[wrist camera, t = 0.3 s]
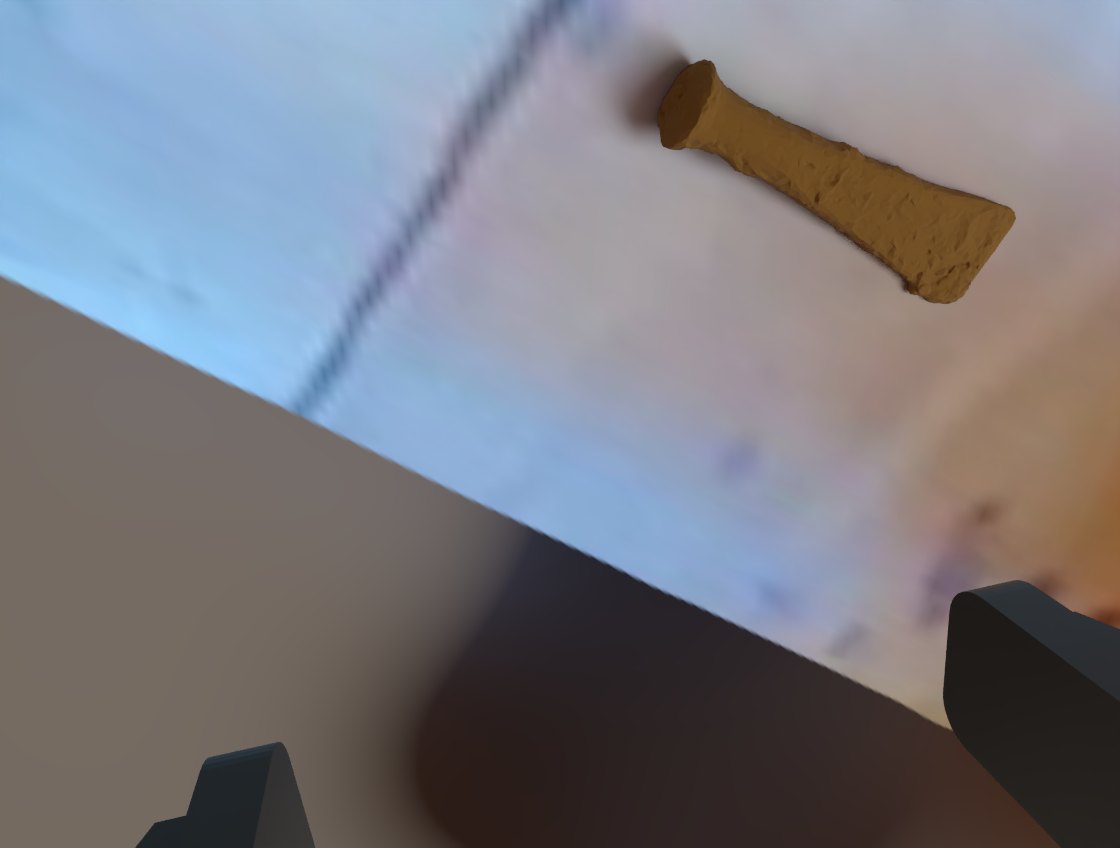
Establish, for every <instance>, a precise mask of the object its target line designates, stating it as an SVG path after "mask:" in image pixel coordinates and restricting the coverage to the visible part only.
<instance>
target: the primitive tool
mask: <svg viewBox="0 0 1120 848" xmlns="http://www.w3.org/2000/svg"><path fill="white" fill-rule="evenodd" d="M658 126H659V128H660V137H661V143H662V146H663V147H666V148H669V149H673V150H681V149H684V148H690V149H702V150H705V151H707V152H709V153H711V154H717V155H719V156H720V157H722V158H723V159H724V160H725V161H727V162H728V163H729V164H730V165H731V166H732V168H733V169H734V170H736V171H739V172H743V174H745V175H748V176H751V177H755V178H759V179H761V180H763V181H765V182H766V183H768V184H770V185H772V186H773V187H775V188H776V190H778V191H780V192H783V193H784V194H786V195H788V196H790V197H791V198H792V199H794V200H795V201H796V202H798V203H799V204H800V205H802V206H803V207H805V208H806V209H808V210H810V211H812V212H813V213H815V214H817V215H818V216H819V217H821V218H822V219H824V220H825V221H827V222H828V223H829V224H830V225H832V226H834V227H835V229H836V230H837V231H841V232H843V233H844V234H845V235H846V236H847V238H848V239H849V240H853V241H855V242H856V243H858V245H859V247H860V248H862V249H863V250H864V251H866V252H870V253H871V254H873V255H874V256H876V257H878V258H880V259H881V260H882V261H883V262H884V263H885V264H886V265H887V266H889V267H890V268H891V269H893V270H894V271H896V272H898V273H899V274H900V275H901V276H902V277H903V278H904V279H905V280H906V281H907V282H908V288H907V289H908V290H909V292H910V294H913V295H920V296H922V297H924V298H925V299H926V300H927V301H928V302H931V303H942V304H948V303H952V302H955V301H957V300H958V299H959V298H961V297H963V295H964V294H965V292H966V291H967V290H968V288H969V285H970V284H971V281H972V280H973V279H974V278H975V277H976V275H977V274H978V273H979V271H980V270H981V268H982V267H983V266H984V264H985V263H986V262H987V260H988V259H989V258H990V256H991V255H992V254H993V252H994V251H995V250H996V248H997V247H998V245H999V244H1000V242H1001V241H1002V240H1003V238H1004V237H1005V235H1006V234H1007V233H1008V231H1009V230H1010V228H1011V227H1012V225H1013V224H1014V221H1015V219H1016V217H1015V213H1014V211H1013V210H1012V209H1010V208H1009V207H1007V206H1002V205H1000V204H997V203H995V202H993V201H990V200H987V199H985V198H982V197H979V196H975V195H972V194H969V193H965V192H961V191H958V190H953V189H949V188H946V187H942V186H939V185H936V184H933V183H930V182H927V181H924V180H922V179H920V178H918V177H916V176H915V175H913V174H910V173H907V172H905V171H903V170H902V169H901V168H900V167H899V166H888V165H886V164H884V163H881V162H879V161H878V160H875V159H872V158H870V157H868V156H865V155H863V154H862V153H860V152H859V150H858V149H857V148H855V147H852V146H850V145H848V144H846V143H844V142H834V141H829V140H825V139H823V138H821V137H820V136H818V135H816V134H815V133H812V132H811V131H809V130H807V129H805V128H802V127H799V126H797V125H794V124H791V123H789V122H786V121H784V120H783V119H782V118H780V117H776V116H775V115H773V114H771V113H770V112H769V111H768V110H764V109H761V108H759V107H756V106H754V105H753V104H751V103H749V102H748V101H746V100H745V99H743V98H742V97H740V96H738V95H737V94H736V93H735V92H733V91H732V90H731V89H730V88H727V87H726V86H725V85H724V83H723V82H722V81H721V80H720V79H719V77H718V75H717V72H716V68H715V66H714V64H713V63H712V62H711V61H707V60H702V61H698V62H696V63H694V64H691V65H689V66H688V67H687V68H686V69H685V70H684V71H683V72H681V73H680V74H679V75H678V77H677V78H676V80H675V81H674V83H673V85H672V87H671V89H670V91H669V92H668V93H667V94H666V96H665V98H664V100H663V102H662V106H661V108H660V110H659V112H658Z"/></svg>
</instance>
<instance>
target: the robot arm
mask: <svg viewBox="0 0 1120 848" xmlns="http://www.w3.org/2000/svg"><path fill="white" fill-rule="evenodd" d="M943 700H944V707H945V711H946V714H947V718H948V720H949V723H950V725H951V727H952V729H953V731H954V733H955V734H956V736H957V738H958V739H959V741H960V742H961V743H962V744H963V746H964V747H965V748H966V749H967V751H968V752H969V753H970V754H971V755H972V756H973V757H974V758H975V759H976V760H977V761H978V762H979V763H980V764H981V765H982V766H983V767H984V768H985V769H986V770H987V771H988V772H989V773H990V774H991V775H992V776H993V777H994V778H995V780H996V781H997V782H998V783H999V784H1000V785H1001V786H1002V787H1003V788H1004V789H1005V790H1006V791H1007V792H1008V793H1009V794H1010V795H1011V796H1012V797H1013V798H1014V799H1015V800H1016V801H1017V802H1018V803H1019V804H1020V805H1021V806H1022V807H1023V808H1024V810H1025V811H1026V812H1028V814H1029V815H1030V816H1031V817H1032V818H1033V819H1034V820H1035V821H1036V822H1037V823H1038V824H1039V825H1040V826H1041V827H1042V828H1043V829H1044V830H1045V831H1046V832H1047V833H1048V834H1049V835H1050V836H1051V837H1052V838H1053V840H1054V841H1055V842H1056V843H1057V844H1058V845H1059V846H1060V847H1061V848H1120V629H1118V628H1115V627H1113V626H1110V625H1108V624H1105V623H1103V622H1100V621H1097V620H1095V619H1092V618H1090V617H1087V616H1085V615H1082V614H1080V613H1077V612H1072V611H1071V610H1069V609H1068V608H1066V607H1065V606H1063V605H1062V604H1060V603H1059V602H1057V601H1056V600H1054V599H1053V598H1051V597H1050V596H1048V595H1047V594H1045V593H1044V592H1042V591H1041V590H1039V589H1038V588H1036V587H1035V586H1033V585H1031V584H1030V583H1027V582H1025V581H1020V580H1015V581H1010V582H1005V583H1001V584H996V585H992V586H987V587H983V588H978V589H974V590H969V591H965V592H961V593H959V594H957V595H956V596H955V597H954V599H953V600H952V603H951V606H950V612H949V625H948V637H947V650H946V662H945V675H944V688H943ZM136 848H315V846H314V841H313V838H312V834H311V831H310V828H309V824H308V821H307V817H306V814H305V810H304V807H303V803H302V800H301V796H300V793H299V790H298V786H297V782H296V779H295V776H294V772H293V769H292V765H291V762H290V758H289V755H288V752H287V750H286V748H285V746H284V745H283V744H282V743H281V742H276V743H272V744H267V745H263V746H258V747H253V748H249V749H245V750H240V751H235V752H231V753H226V754H222V755H217V756H213V757H209V758H207V759H206V760H205V762H204V764H203V765H202V768H201V770H200V773H199V776H198V780H197V783H196V786H195V789H194V792H193V796H192V799H191V802H190V805H189V808H188V811H187V815H186V816H182V817H178V818H174V819H170V820H165V821H161V822H157V823H154V825H153V826H152V827H151V829H150V830H149V831H148V832H147V834H146V835H145V836H144V838H143V839H142V840H141V841H140V842H139V844H138V845H137V846H136Z"/></svg>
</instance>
